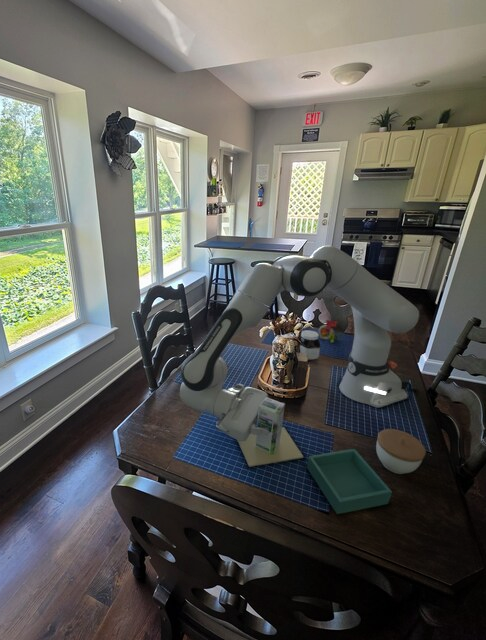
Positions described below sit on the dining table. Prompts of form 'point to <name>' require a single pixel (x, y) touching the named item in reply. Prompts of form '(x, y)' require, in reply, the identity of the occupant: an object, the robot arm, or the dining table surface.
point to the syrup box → (270, 424)
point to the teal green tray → (348, 481)
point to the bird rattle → (325, 331)
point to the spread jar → (310, 344)
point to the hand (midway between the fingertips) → (273, 421)
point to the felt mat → (260, 457)
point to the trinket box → (399, 451)
